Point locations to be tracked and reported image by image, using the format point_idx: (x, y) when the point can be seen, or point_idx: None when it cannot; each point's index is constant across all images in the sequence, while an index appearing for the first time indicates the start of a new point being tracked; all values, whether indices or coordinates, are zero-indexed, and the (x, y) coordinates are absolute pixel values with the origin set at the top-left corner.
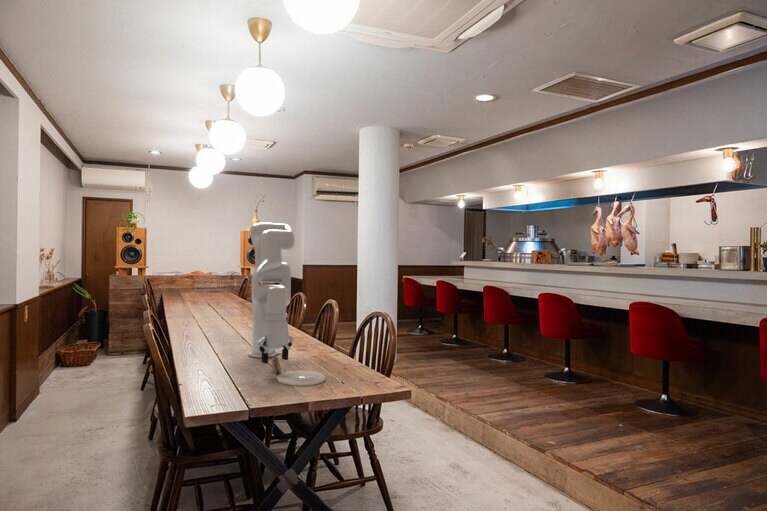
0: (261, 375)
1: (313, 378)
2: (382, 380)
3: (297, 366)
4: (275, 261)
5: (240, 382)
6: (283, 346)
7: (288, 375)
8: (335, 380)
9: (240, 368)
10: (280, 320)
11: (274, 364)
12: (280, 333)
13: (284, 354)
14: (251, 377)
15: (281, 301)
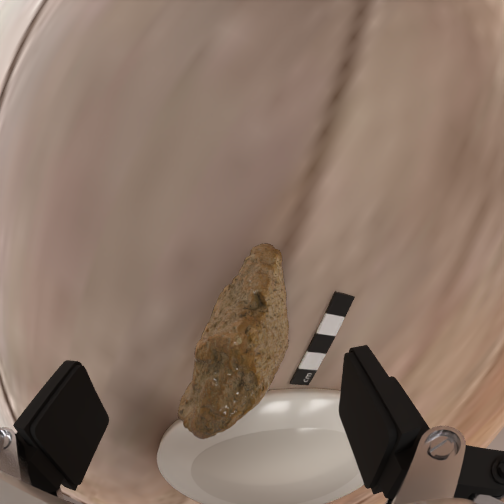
0: (112, 316)
1: (299, 499)
2: None
3: (469, 241)
4: None
5: (7, 350)
6: (411, 487)
7: (233, 454)
8: (365, 491)
9: (83, 46)
10: None
11: (179, 417)
12: None
13: (359, 427)
14: (51, 315)
15: None
